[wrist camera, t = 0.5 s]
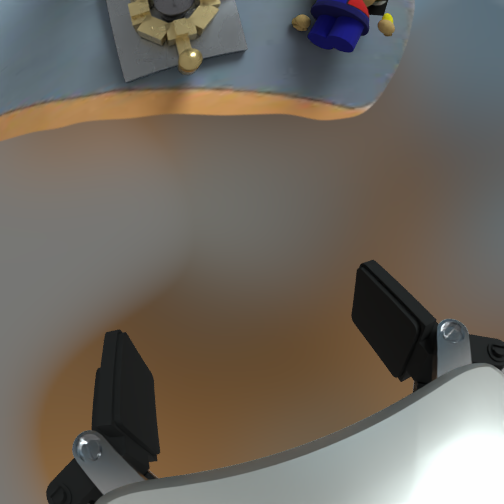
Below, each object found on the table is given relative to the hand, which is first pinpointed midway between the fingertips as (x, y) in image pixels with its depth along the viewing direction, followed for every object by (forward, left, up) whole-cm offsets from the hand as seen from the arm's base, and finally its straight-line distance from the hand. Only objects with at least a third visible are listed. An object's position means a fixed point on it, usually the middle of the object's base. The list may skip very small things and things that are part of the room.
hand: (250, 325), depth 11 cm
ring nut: (-18, +2, -25) cm, 31 cm away
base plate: (-20, +3, -26) cm, 33 cm away
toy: (-18, +22, -27) cm, 39 cm away
